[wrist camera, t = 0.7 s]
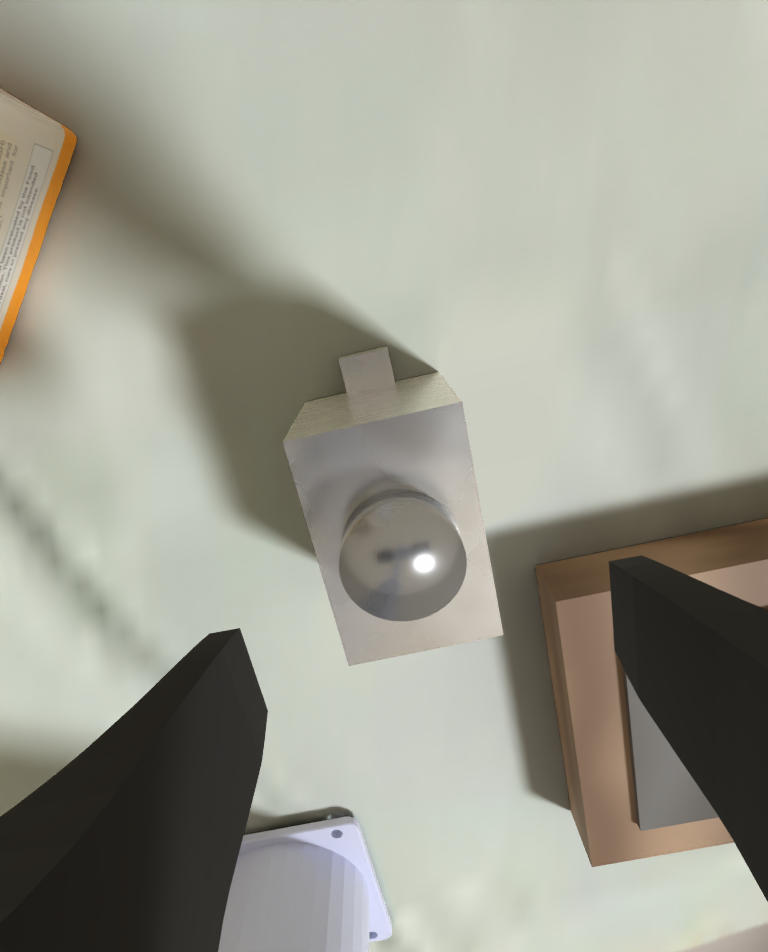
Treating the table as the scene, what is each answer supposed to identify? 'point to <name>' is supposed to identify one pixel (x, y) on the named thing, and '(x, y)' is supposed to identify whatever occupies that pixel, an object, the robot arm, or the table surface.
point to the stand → (632, 698)
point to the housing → (394, 512)
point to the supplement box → (26, 196)
